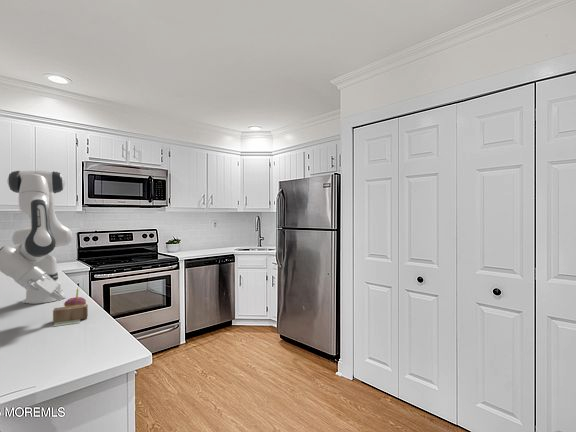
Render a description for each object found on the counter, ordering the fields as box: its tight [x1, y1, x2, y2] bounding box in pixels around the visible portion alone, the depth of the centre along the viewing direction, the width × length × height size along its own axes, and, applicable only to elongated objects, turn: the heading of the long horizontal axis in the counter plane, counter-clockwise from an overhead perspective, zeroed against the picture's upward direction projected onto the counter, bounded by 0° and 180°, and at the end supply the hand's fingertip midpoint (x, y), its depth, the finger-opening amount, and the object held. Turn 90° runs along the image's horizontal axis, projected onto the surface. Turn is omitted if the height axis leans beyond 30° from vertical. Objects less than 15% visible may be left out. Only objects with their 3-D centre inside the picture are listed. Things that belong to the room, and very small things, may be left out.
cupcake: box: [63, 288, 87, 307], centre depth 151 cm, size 9×8×12 cm
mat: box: [52, 319, 82, 327], centre depth 141 cm, size 14×9×1 cm, turn 28°
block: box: [52, 303, 89, 324], centre depth 141 cm, size 5×5×12 cm
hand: (61, 298), depth 140 cm, fingers closed
